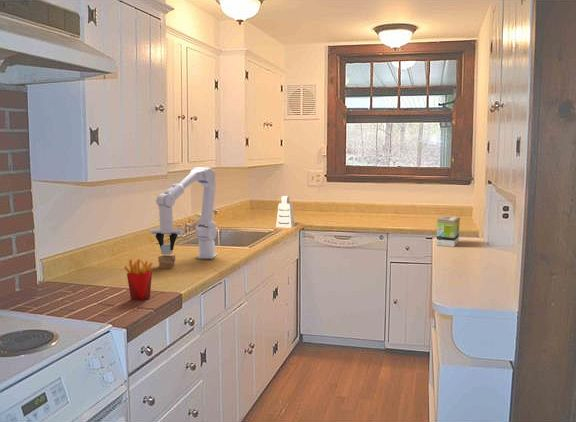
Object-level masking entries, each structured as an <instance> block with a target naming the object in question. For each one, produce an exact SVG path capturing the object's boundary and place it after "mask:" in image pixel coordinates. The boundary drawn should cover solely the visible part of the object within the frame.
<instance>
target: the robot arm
mask: <svg viewBox="0 0 576 422" xmlns="http://www.w3.org/2000/svg"><path fill="white" fill-rule="evenodd" d="M196 181H197V182H198V183H199V184H201V186H202V187H203V192H202V193H203V195H202V204H201V205H202V207H201V214H200V215H201V217H200V218H201V219H200V220H199V221H197V224H196V227H195V230H194V234H195V236H196V237H197V240H198V256H197V257H196V259H208V260H209V259H211V260H213V259H214V258H215V257H216V256H217V255H218V254H217V253H216V246H215V245H216V243H215V241H214V240H215V238H216V236H217V234H218V231H217V224H216V222H215V221H214V220H213V217H214V216H213V215H214V207H215V206H214V205H215V195H216V172H215V170H214V169H213V168H212V167H199V166H195V167H193V169H191V170H190V173H189V174H188V175H187V176H185V177H184V178H183V179H182V180H181V181H180V182H179V183H178V182H177V183H172V184H171V187H169V188H168V189H167V190H165V191H164V193H160V194H158V195H157V198H156V200H155V202H156V205H157V207H158V210H159V211H158V212H159V213H158V214H159V215H158V216H159V228H151V229H149V234H150V235H155V238H156V240H157V242H158V244H159V247H160V249H161V245H163V244H165V241H164V239H165V238H164V237H165V235H169V244H170V249H171V250H174V247H175V244H176V243H175V242H176V240H177V238H178V235H183V234H184V232H183V231H184V230H183V229H176V228H174V222H173V206H174V205H175V203H176V201H177V199H178V198H180V197H181V196H182V195H183V194H184V193H185V189H187V188H188V187H189V186H190V185H192V184H194V183H195V182H196Z"/></svg>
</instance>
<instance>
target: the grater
mask: <svg viewBox="0 0 576 422" xmlns="http://www.w3.org/2000/svg"><path fill="white" fill-rule="evenodd" d="M293 206H294V205H293V202H291V201H290V195H282V196H281V202H278V205H277V215H276V223H275V228H287V229H289V228H290V229H292V228H293V227H295V226H296V223H295V215H294V207H293Z"/></svg>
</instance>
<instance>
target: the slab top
mask: <svg viewBox="0 0 576 422" xmlns="http://www.w3.org/2000/svg"><path fill="white" fill-rule="evenodd" d="M157 258H158V263H171V262H173V261H176V254H161V255H160V256H158V257H157Z"/></svg>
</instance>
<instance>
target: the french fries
mask: <svg viewBox="0 0 576 422" xmlns="http://www.w3.org/2000/svg"><path fill="white" fill-rule="evenodd" d="M140 263H141V265H142V267H140V266H141V265H140ZM153 263H154V262H151V261H150V262H149V260H145V261H144V260H142V259H141V258H137V260H135V261H134V262H133V259H132V258H130V259H128V265H129V268H128V267H127V265H124V266H123V268H124V270H125V271H126V272H127V273H126V277H127V283H128V289H129V294H130V300H131V301H142V302H143V301H145V300H147V299H149V298H150V297H151V289H152V279H153V277H152V276H153V270H151V268H152V266H153V265H154V264H153Z"/></svg>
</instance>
